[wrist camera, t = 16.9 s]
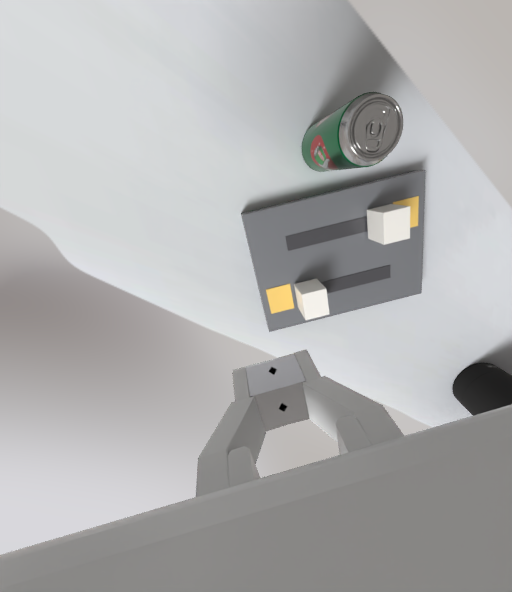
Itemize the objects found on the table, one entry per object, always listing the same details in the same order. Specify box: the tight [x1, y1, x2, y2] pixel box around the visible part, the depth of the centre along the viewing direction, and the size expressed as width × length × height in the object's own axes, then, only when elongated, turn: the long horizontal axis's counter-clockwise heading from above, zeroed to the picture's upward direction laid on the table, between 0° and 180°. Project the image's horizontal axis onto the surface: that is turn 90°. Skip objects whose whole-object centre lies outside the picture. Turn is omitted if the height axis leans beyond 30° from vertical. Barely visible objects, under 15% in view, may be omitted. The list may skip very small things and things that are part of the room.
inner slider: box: [367, 204, 410, 245], centre depth 31 cm, size 4×3×4 cm
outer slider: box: [294, 278, 329, 320], centre depth 34 cm, size 4×3×4 cm
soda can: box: [302, 92, 403, 172], centre depth 26 cm, size 5×5×12 cm
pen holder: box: [453, 363, 512, 416], centre depth 44 cm, size 9×9×10 cm
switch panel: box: [241, 170, 425, 332], centre depth 35 cm, size 16×22×2 cm
